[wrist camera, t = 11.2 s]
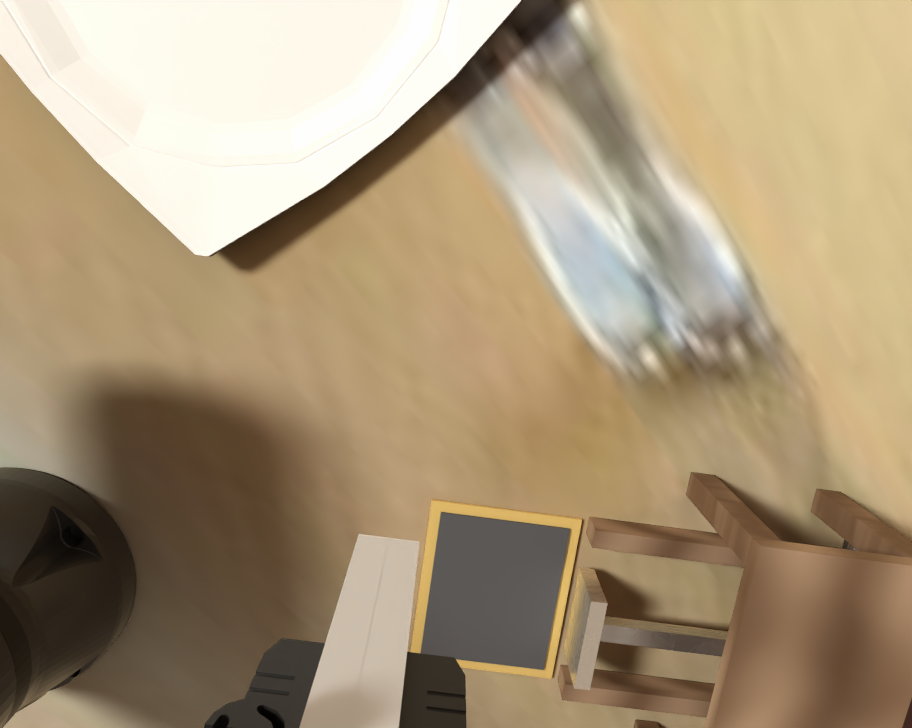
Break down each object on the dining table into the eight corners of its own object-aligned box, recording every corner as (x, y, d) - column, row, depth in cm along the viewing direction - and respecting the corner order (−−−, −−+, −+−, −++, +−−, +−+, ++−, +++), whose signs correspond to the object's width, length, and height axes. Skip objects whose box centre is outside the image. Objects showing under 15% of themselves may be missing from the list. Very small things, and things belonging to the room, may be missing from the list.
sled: (550, 705, 47) (559, 757, 43) (591, 493, 44) (606, 524, 39) (954, 754, 48) (1005, 809, 44) (1024, 550, 45) (1088, 587, 40)
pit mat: (409, 659, 47) (408, 662, 46) (431, 499, 44) (431, 501, 44) (551, 676, 47) (552, 680, 47) (581, 518, 45) (582, 521, 44)
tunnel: (548, 728, 48) (572, 862, 38) (600, 460, 44) (643, 531, 34) (848, 765, 49) (950, 905, 39) (929, 503, 44) (1066, 586, 34)
